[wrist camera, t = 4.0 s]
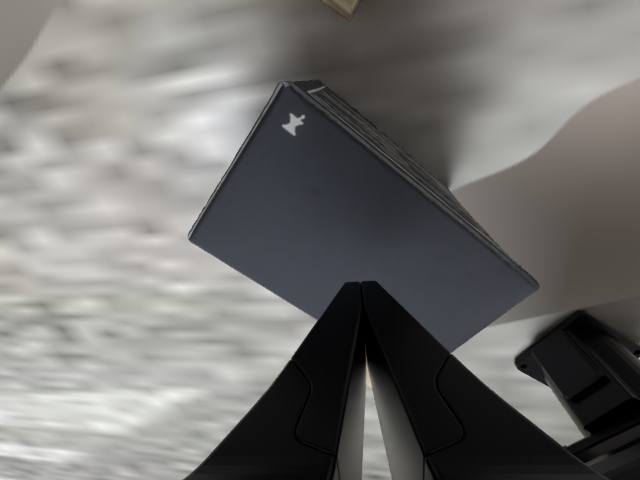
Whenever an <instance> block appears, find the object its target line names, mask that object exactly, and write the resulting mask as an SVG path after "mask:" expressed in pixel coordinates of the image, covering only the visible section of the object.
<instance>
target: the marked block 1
mask: <svg viewBox="0 0 640 480" xmlns="http://www.w3.org/2000/svg"><path fill="white" fill-rule="evenodd" d="M322 1H323V2H324V3H326V4H327V5H329V6H330V7H332V8H333V9H334V10H336V11H337V12H339V13H340V14H341V15H343V16H344V17H346V18H347V19H348V20H350V19H351V17H352V15H353V14H354V12H355V10H356V8H357V6H358V4H359V2H360V0H322Z"/></svg>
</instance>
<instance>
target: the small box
mask: <svg viewBox="0 0 640 480" xmlns="http://www.w3.org/2000/svg"><path fill="white" fill-rule="evenodd" d="M188 240H189V241H190V242H191V243H193V244H195V245H196V246H198V247H200V248H201V249H203V250H204V251H206V252H208V253H210V254H211V255H213V256H214V257H216V258H218V259H219V260H221V261H222V262H224V263H225V264H227V265H229V266H230V267H232V268H233V269H235V270H237V271H238V272H240V273H242V274H243V275H245V276H247V277H248V278H250V279H252V280H253V281H255V282H256V283H258V284H260V285H261V286H263V287H265V288H266V289H268V290H269V291H271V292H273V293H274V294H276V295H277V296H279V297H281V298H282V299H284V300H286V301H287V302H289V303H290V304H292V305H294V306H295V307H297V308H298V309H300V310H302V311H303V312H305V313H306V314H308V315H310V316H311V317H313V318H315V319H316V320H319V318H320V317H321V315H322V314H323V313H324V311H325V310H326V308H327V307H328V306H329V304H330V303H331V301H332V300H333V298H334V297H335V296H336V294H337V293H338V291H339V290H340V289H341V287H342V286H343V284H344V283H345V282H355V281H358V282H360V285H361V282H362V281H371V280H375V281H377V282H378V283H379V284H380V285H381V286H382V287H383V288H384V289H385V290H386V291H387V292H388V293H389V294H390V295H391V296H392V297H393V298H394V299H395V300H397V301H398V302H399V303H400V304H401V305H402V306H403V307H404V308H405V309H406V310H407V311H408V312H409V313H410V314H411V315H412V316H413V317H414V318H415V319H416V320H417V321H418V322H419V323H420V324H421V325H422V326H423V327H424V328H426V329H427V330H428V331H429V332H430V333H431V334H432V335H433V336H434V337H435V338H436V339H437V340H438V341H439V342H440V343H441V344H442V345H443V346H444V347H445V348H446V349H447V350H448V351H449V352H450V353H452V352H453V351H454V350H455V349H457V348H458V347H460V346H461V345H462V344H464V343H465V342H467V341H468V340H469V339H470V338H472V337H473V336H474V335H476V334H477V333H479V332H480V331H481V330H483V329H484V328H486V327H487V326H488V325H490V324H491V323H492V322H494V321H495V320H496V319H498V318H499V317H501V316H502V315H503V314H505V313H506V312H507V311H508V310H510V309H511V308H513V307H514V306H515V305H517V304H518V303H519V302H521V301H522V300H523V299H525V298H526V297H528V296H530V295H531V294H533V293H534V292H536V291H537V290H538V289H539V288H540V287H539V283H538V282H537V281H536V280H535V279H534V278H533V277H532V276H531V275H529V274H528V272H526V271H525V270H524V269H523V268H522V267H521V266H520V265H519V264H518V263H517V262H515V261H514V260H513V259H512V258H511V257H510V256H509V255H508V254H507V253H506V252H505V251H504V250H503V249H502V248H501V247H500V246H499V245H498V244H497V243H496V242H495V241H494V240H493V239H492V238H491V237H490V236H489V234H488V233H487V232H486V231H485V230H484V229H483V228H482V227H481V226H480V225H479V223H477V222H476V221H475V219H474V218H473V217H472V216H471V215H470V214H469V213H468V212H467V211H466V210H465V208H464V207H463V206H462V205H461V204H460V203H459V202H458V200H457V199H456V198H455V197H454V195H453V194H452V193H451V192H450V190H449V189H448V188H447V187H445V186H444V185H443V184H442V183H441V182H439V181H438V180H437V179H436V178H435V177H434V176H433V175H431V174H430V173H429V172H428V171H427V170H425V169H424V168H423V167H422V166H421V165H419V164H418V163H417V162H416V161H415V160H414V159H412V158H411V156H410V155H408V154H407V153H405V152H404V151H403V150H402V149H400V148H399V147H398V146H397V145H396V144H395V143H394V142H392V141H391V140H390V139H389V138H388V137H386V136H385V135H384V134H383V133H382V132H380V131H379V130H378V129H377V128H376V126H375V125H373V124H372V123H371V122H369V121H368V120H367V119H365V118H364V117H363V116H361V115H360V113H359V112H358V111H357V110H356V109H354V108H352V107H351V106H350V105H348V104H347V103H346V102H345V101H344V100H342V99H341V98H339V97H338V96H337V95H336V94H335V93H333V92H332V91H331V90H330V89H328V88H327V87H326V86H325V85H324V84H323V83H322V82H321V81H319V80H318V79H317V80H310V81H298V82H297V81H295V82H290V81H286V82H280V83H279V84H278V85H277V86H276V89H275V91H274V93H273V94H272V96H271V98H270V100H269V102H268V103H267V105H266V106H265V108H264V109H263V111H262V113H261V115H260V117H259V118H258V120H257V121H256V123H255V125H254V126H253V128H252V130H251V131H250V133H249V135H248V136H247V138H246V139H245V141H244V143H243V144H242V146H241V147H240V149H239V151H238V152H237V154H236V156H235V158H234V160H233V161H232V163H231V165H230V166H229V168H228V169H227V171H226V173H225V175H224V176H223V177H222V179H221V181H220V182H219V184H218V185H217V187H216V189H215V190H214V192H213V194H212V195H211V197H210V199H209V200H208V202H207V204H206V206H205V207H204V208H203V210H202V212H201V213H200V215H199V217H198V219H197V220H196V222H195V223H194V225H193V226H192V229H191V230H190V231H189V234H188Z"/></svg>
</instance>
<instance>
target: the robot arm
mask: <svg viewBox="0 0 640 480" xmlns="http://www.w3.org/2000/svg"><path fill="white" fill-rule="evenodd" d="M582 317H583V318H582ZM639 357H640V345H639V344H638V343H636V342H635V341H633V340H631V339H630V338H628V337H627V336H625V335H623V334H622V333H620V332H619V331H617V330H615V329H614V328H612V327H610V326H609V325H607V324H606V323H604V322H602V321H601V320H599V319H598V318H596V317H594V316H593V315H591V314H590V313H588V312H586V311H584V310H581V311H578V312H576V313H574V314H573V315H572V316H571V317H569V318H568V319H567V320H566V321H564V322H563V323H562V324H561V325H559V326H558V327H557V328H556V329H554V330H553V331H552V332H551V333H549V334H548V335H547V336H546V337H544V338H543V339H542V340H541V341H539V342H538V343H537V344H536V345H534V346H533V347H532V348H531V349H529V350H528V351H527V352H526V353H524V354H523V355H522V356H521V357H519V358H518V359H517V360H516V361H515V366H516V367H517V369H518V370H520V371H521V372H523V373H525V374H527V375H529V376H530V377H532V378H534V379H536V380H538V381H540V382H541V383H543V384H545V385H547V386H549V387H550V388H551V390H552V391H553V393H554V394H555V395H556V397H557V398H558V400H559V401H560V403H561V404H562V406H563V407H564V408H565V410H566V411H567V413H568V414H569V416H570V417H571V419H572V420H573V422H574V423H575V424H576V426H577V427H578V429H579V430H580V432H581V433H582V435H583V436H584V437H585V438H583V439H581V440H579V441H577V442H575V443H573V444H571V445H569V446H563V447H562V446H561V445H560V444H559V443H557V442H556V441H555V440H554V439H552V438H551V437H550V436H549V435H547V434H546V433H545V432H543V431H542V430H541V429H540V428H538V427H537V426H536V425H535V424H533V423H532V422H531V421H530V420H528V419H527V418H526V417H525V416H523V415H522V414H521V413H519V412H518V411H517V410H516V409H514V408H513V407H512V406H511V405H509V404H508V403H507V402H506V401H504V400H503V399H502V398H501V397H500V396H498V395H497V394H496V393H495V392H494V391H492V390H491V389H490V388H489V387H487V386H486V385H485V384H484V383H483V382H482V381H480V380H479V379H478V378H477V377H476V376H475V375H474V374H473V373H472V372H471V371H469V370H468V369H467V368H466V367H465V366H464V365H463V364H462V363H461V362H460V361H459V360H458V359H457V358H456V357H455V356H454V355H452V354H450V352H449V351H448V350H447V349H446V348H445V347H444V346H443V345H442V344H441V343H440V342H439V341H438V340H437V339H436V338H435V337H434V336H433V335H432V334H431V333H430V332H429V331H428V330H427V329H426V328H424V327H423V326H422V325H421V324H420V323H419V322H418V321H417V320H416V319H415V318H414V317H413V316H412V315H411V314H410V313H409V312H408V311H407V310H406V309H405V308H404V307H403V306H402V305H401V304H400V303H399V302H398V301H397V300H395V299H394V298H393V297H392V296H391V295H390V294H389V293H388V292H387V291H386V290H385V289H384V288H383V287H382V286H381V285H380V284H379V283H378V282H377V281H375V280H371V281H362V282H361V285H360V282H358V281H355V282H345V283H344V284H343V286H342V287H341V289H340V290H339V291H338V293H337V294H336V296H335V297H334V298H333V300H332V301H331V303H330V304H329V306H328V307H327V308H326V310H325V311H324V313H323V314H322V315H321V317H320V318H319V320H318V321H317V322H316V324H315V325H314V327H313V328H312V329H311V331H310V332H309V334H308V335H307V337H306V338H305V339H304V341H303V342H302V344H301V345H300V346H299V348H298V349H297V351H296V352H295V353H294V355H293V356H292V358H291V360H289V362H288V363H287V364H286V366H285V367H284V369H283V370H282V372H281V373H280V374H279V375H278V377H277V378H276V379H275V381H274V382H273V383H272V385H271V386H270V387H269V389H268V390H267V391H266V392H265V393H264V394H263V396H262V397H261V398H260V399H259V400H258V401H257V403H256V404H255V405H254V406H253V407H252V408H251V410H250V411H249V412H248V413H247V414H246V415H245V416H244V417H243V418H242V420H241V421H240V422H239V423H238V424H237V425H236V426H235V427H234V428H233V429H232V431H231V432H230V433H229V434H228V435H227V436H226V437H225V438H224V439H223V441H222V442H221V443H220V444H219V445H218V446H217V447H216V448H215V449H214V451H213V452H212V453H211V454H210V455H209V456H208V457H207V458H206V459H205V460H204V461H203V462H202V463H201V464H200V465H199V466H198V467H197V468H196V469H195V470H194V471H193V472H192V473H191V474H189V475H188V476H187V477H186V478H184V479H183V480H362V458H363V435H364V413H365V391H366V358H367V366H368V371H369V376H370V380H371V385H372V389H373V394H374V399H375V403H376V408H377V412H378V417H379V422H380V426H381V431H382V435H383V440H384V444H385V449H386V454H387V458H388V463H389V467H390V472H391V476H392V480H640V360H639V359H638V358H639Z"/></svg>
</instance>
